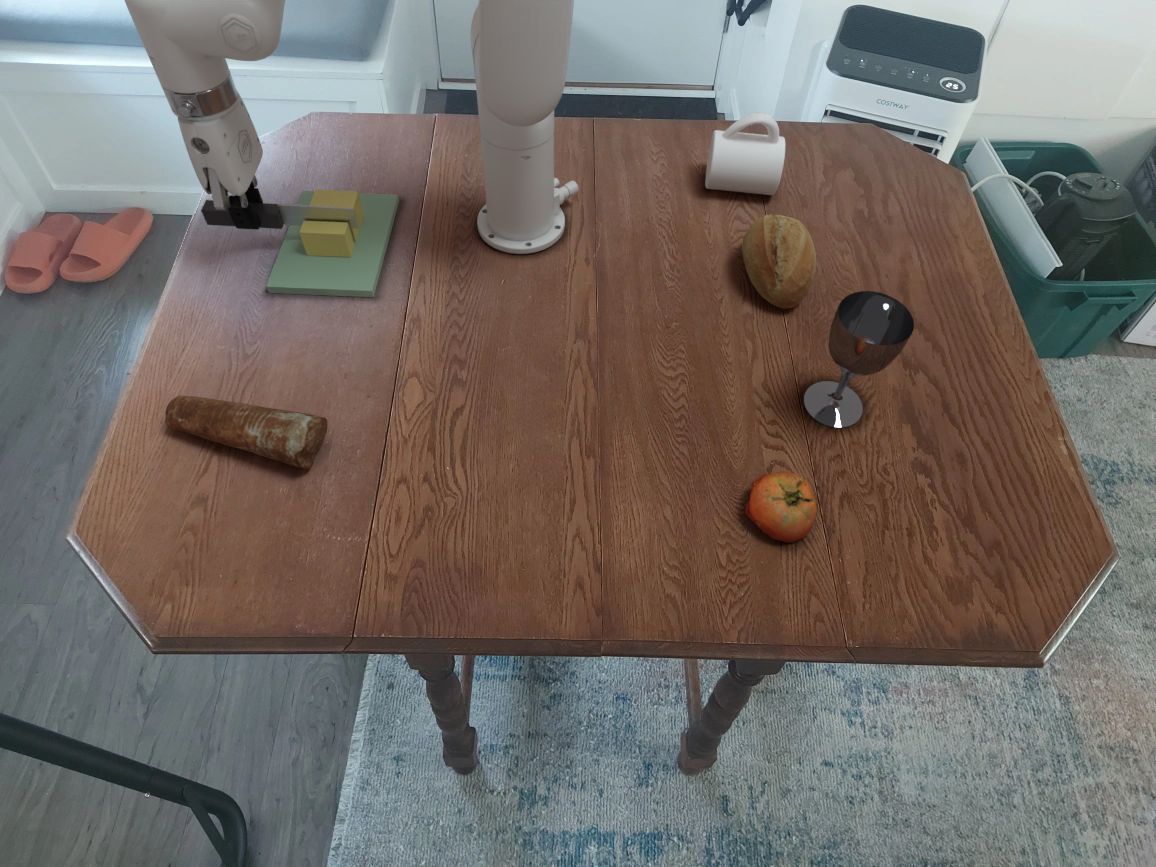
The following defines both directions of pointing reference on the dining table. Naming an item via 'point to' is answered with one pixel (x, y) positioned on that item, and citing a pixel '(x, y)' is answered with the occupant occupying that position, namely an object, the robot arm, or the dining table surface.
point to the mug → (746, 157)
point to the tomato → (782, 506)
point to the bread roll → (780, 259)
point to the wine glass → (858, 353)
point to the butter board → (337, 273)
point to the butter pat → (327, 238)
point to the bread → (250, 428)
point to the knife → (282, 215)
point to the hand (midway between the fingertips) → (251, 219)
